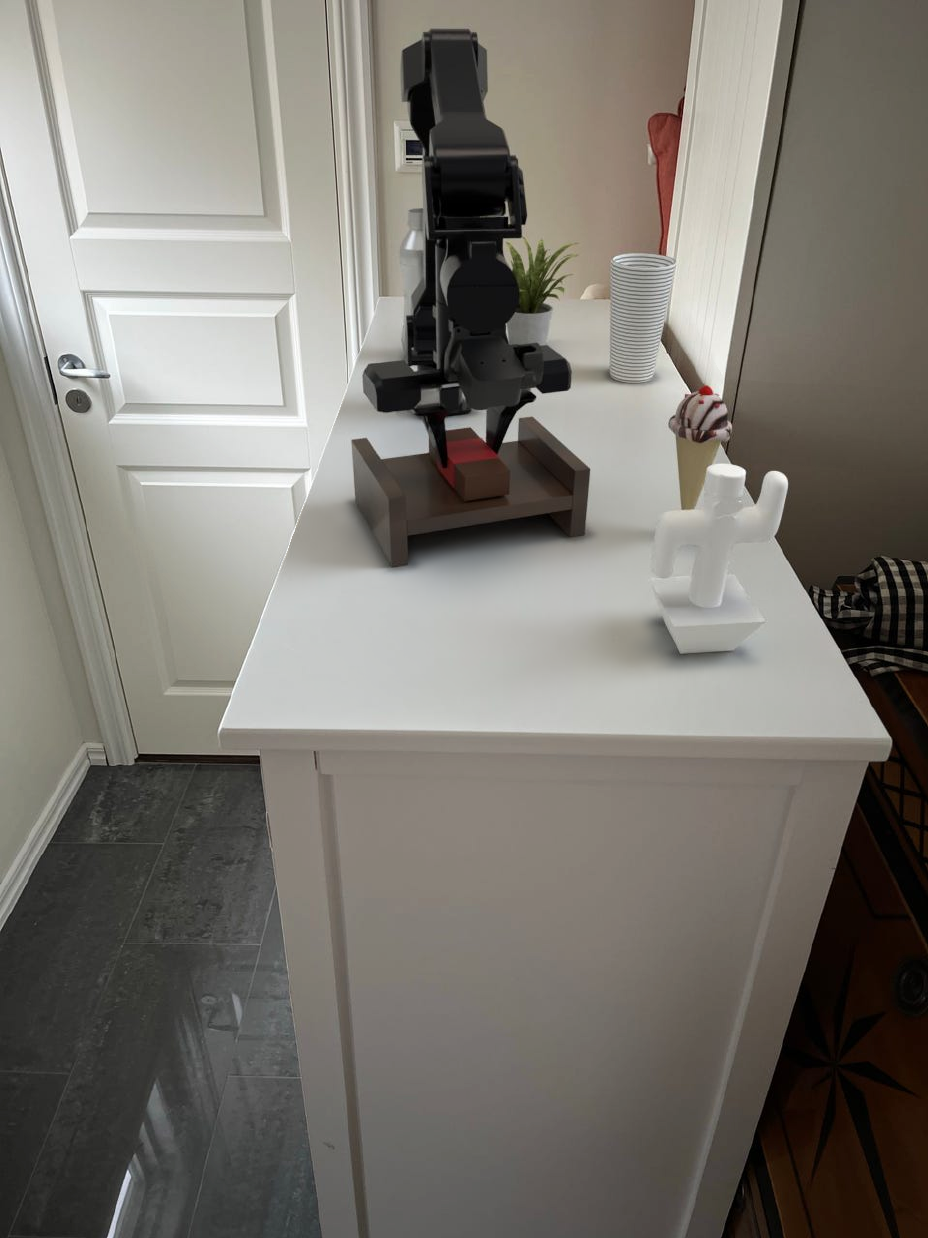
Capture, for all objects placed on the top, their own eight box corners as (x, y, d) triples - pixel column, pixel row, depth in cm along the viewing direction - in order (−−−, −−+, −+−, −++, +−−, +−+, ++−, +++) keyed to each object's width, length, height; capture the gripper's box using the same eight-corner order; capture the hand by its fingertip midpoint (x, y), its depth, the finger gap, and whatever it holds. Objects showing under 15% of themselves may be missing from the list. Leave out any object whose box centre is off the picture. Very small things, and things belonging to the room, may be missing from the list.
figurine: (630, 615, 79) (651, 450, 71) (738, 609, 80) (771, 446, 71) (654, 666, 73) (679, 492, 65) (770, 659, 74) (809, 486, 65)
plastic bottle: (452, 352, 138) (452, 207, 127) (436, 367, 132) (434, 216, 121) (411, 348, 140) (408, 204, 128) (394, 362, 134) (389, 213, 123)
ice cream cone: (713, 551, 88) (740, 398, 80) (652, 544, 89) (673, 393, 81) (712, 523, 93) (737, 377, 85) (654, 518, 94) (674, 372, 86)
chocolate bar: (428, 456, 95) (427, 432, 93) (470, 450, 96) (471, 426, 95) (463, 502, 86) (464, 476, 85) (510, 494, 87) (511, 469, 86)
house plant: (599, 346, 141) (609, 231, 132) (557, 371, 131) (564, 249, 122) (517, 331, 147) (521, 220, 138) (471, 353, 137) (472, 236, 128)
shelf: (355, 502, 96) (351, 439, 93) (529, 477, 102) (532, 416, 98) (391, 567, 85) (388, 498, 82) (584, 534, 91) (590, 468, 87)
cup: (614, 362, 134) (625, 249, 126) (670, 372, 131) (685, 257, 122) (590, 379, 128) (600, 262, 120) (649, 390, 125) (663, 270, 116)
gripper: (390, 335, 73) (397, 513, 82) (605, 314, 78) (590, 484, 87) (356, 299, 82) (366, 463, 90) (551, 282, 87) (542, 439, 95)
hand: (467, 463), depth 90 cm, fingers closed on chocolate bar, 4 cm apart
